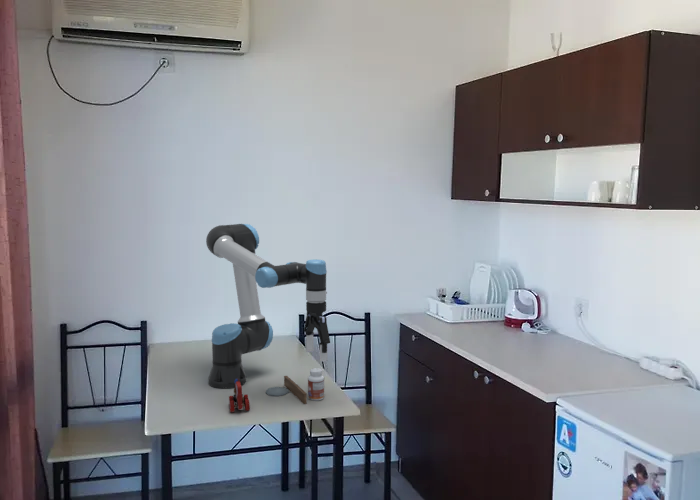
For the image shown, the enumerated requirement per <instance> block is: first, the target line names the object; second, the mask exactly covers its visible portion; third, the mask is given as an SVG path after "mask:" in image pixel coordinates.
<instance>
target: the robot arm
mask: <svg viewBox="0 0 700 500" xmlns="http://www.w3.org/2000/svg"><path fill="white" fill-rule="evenodd" d="M256 229H257V228H255V227H254V226H253V225H251V224H250V223H249V224H248V223H235V224H222V225H221V224H220V225H216V226H215V227H213V228H211V230H209V232H208V233H207V236H206V247H207V249H208V251H209V252H210V253H211V254H213V255H214V256H215V257H217V258H220V259H225V260H226V261H228V262H230V263H232V269H233V275H234V282H235V287H236V288H235V289H236V294H237V302H238V308H239V310H238V311H239V315H240V316H239V319H238V320H237V323H224V324H221V325H218V326H217V327H215V328H214V329H213V331H212V334H211V344H212V345H211V348H212V349H211V351H212V366H211V368H210V373H209V375H208V385H209V386H210V387H212V388H216V389H233V388H234V389H235V383H234V381H235V379H239V380H240V383H241V386H243V385H244V384H246V383H247V375H246V372H245V368H244V367H243V362H242V361H243V360H242V359H243V357H242V355H245V354H250V353H253V352H257V351H258V352H259V351H262V350H264V349H267V348H268V347H270V345H271V343H272V342H273V339H274V329H273V327H272V325H271V323H270V322H269V321H267V320H266V317H265V316H264V315H263V314H262V313H261V305H260V300H259V293H258V287H260V288H261V289H262V288H263V289H265V288H269V289H270V288H274V287H275V288H276V287H279V286H286V285H292V284H304V285H305V287H306V288H305V301H306V304H305V306H306V309H305V310H306V317H305V321H304V327H303V332H304V334H305V338H306V339H305V341H306V343H305V346H306V349H305V351H306V352H305V353H309V352H314V351H315V350H314V349H315V348H314V335H315V334H314V333H315V332H314V331H315V329H316V331H317V334H318V338H319V341H320V342H319V344H318V345H319V362H320V363H321V362H326V361H328V344H331V339H330V334H329V328H328V322H327V316H323V313H325V312H326V311H327V301H326V300H327V294H328V291H327V273H328V271H327V264H326V261H325V260H323V259H307V260H306V262H305V263H300V262H296V261H289V262H286V264H279V265H274V264H272V263H270V261H266V260H265V259H264V258H262V257H260V256H259V255H258V254H257V255H256V250H257V249H258V247H259V244H260V236H259V233H258V231H257V230H256ZM257 286H258V287H257Z"/></svg>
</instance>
